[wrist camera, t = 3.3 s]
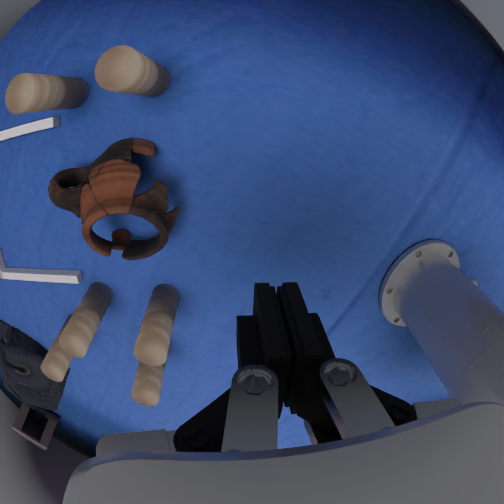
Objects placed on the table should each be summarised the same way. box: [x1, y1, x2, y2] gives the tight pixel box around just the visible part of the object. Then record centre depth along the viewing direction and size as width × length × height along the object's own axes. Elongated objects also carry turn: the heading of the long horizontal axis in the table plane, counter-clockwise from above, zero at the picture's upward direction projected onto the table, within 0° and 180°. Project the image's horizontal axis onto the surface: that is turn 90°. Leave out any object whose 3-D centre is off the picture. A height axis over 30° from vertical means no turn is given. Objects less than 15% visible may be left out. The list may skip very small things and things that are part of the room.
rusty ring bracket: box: [48, 138, 179, 260], centre depth 23 cm, size 12×10×8 cm
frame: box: [0, 116, 83, 284], centre depth 24 cm, size 14×18×1 cm
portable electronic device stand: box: [12, 402, 60, 450], centre depth 40 cm, size 9×8×8 cm
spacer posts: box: [5, 45, 179, 406], centre depth 23 cm, size 16×32×9 cm, turn 178°
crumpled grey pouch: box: [0, 321, 70, 411], centre depth 36 cm, size 15×22×5 cm
